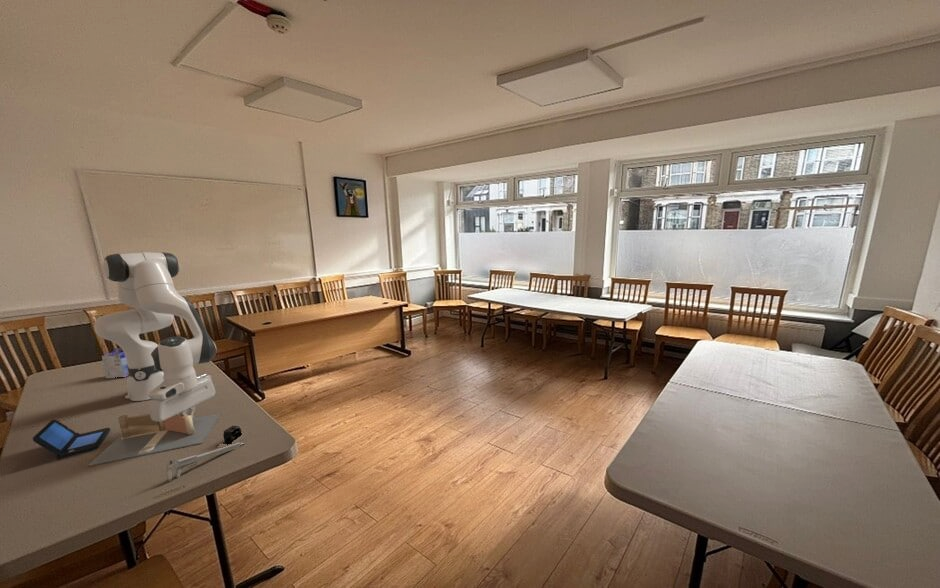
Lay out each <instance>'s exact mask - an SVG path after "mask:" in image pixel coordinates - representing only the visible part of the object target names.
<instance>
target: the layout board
mask: <svg viewBox="0 0 940 588" xmlns="http://www.w3.org/2000/svg"><path fill="white" fill-rule="evenodd" d="M220 414H221V413H217V414H212V415H210V414H209V415H204V416H198V417H195V418H193V419H192V421H193V426H194V433H193V434H190V435H188V434H185V433H180V432H175V431H169V430H164V431H161V430H160V431H155V432H150V433H144V434H139V435H134V436H130V437H127V438H123V436H122V434H121V435H119V436H118V437H117V438H116V439H115V440H114V441H113V442H111V444H110V445H109V446H107V447H106V448H105V449H104V450H103V451H102V452H101V453H100V454H99V455H98V456H96V457H95V458H94V460H92V461H91V462H90V463H89V464H88V465H87V466H89V467H93V466H92V465H94V466H97V465H96V464H99V465H103V464H102V463H104V464H108V463H107V462H109V463H113V462H112V461H114V462H117V461H116V460H119V461H122V459H124V460H127V459H128V458H129V459H133V458H138V457H142V456H147V455H148V456H149V455H154V454H159V453H162V452H163V453H164V452H167V451H172V450H178V449H182V447H183V448H188V447H191V446H196V445H197V444H198V445H202V444H203V442H205V440H206V439H207V436H209V434H210V433H211V431H212V429H213V428H214V426H215V425H216V423H217V422H218V420H219V419H220V417H221V416H220ZM219 416H220V417H219ZM218 418H219V419H218ZM217 419H218V420H217ZM216 421H217V422H216ZM215 422H216V423H215ZM214 424H215V425H214ZM212 427H213V428H212Z"/></svg>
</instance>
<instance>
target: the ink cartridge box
mask: <svg viewBox="0 0 940 588" xmlns="http://www.w3.org/2000/svg"><path fill="white" fill-rule="evenodd" d="M121 351H122V349H121V347H119V348H118V347H117V348H113V350H112V352H110V353H107V354H104V355H101V359H102V364H103V367H104V368H103V370H104V374H105V379H118V378H117V377H125V378H127V377H129V376H128V375H129V374H128V363H127V359H126V356H125V354H124V351H122V352H121ZM126 376H127V377H126ZM115 377H116V378H115Z"/></svg>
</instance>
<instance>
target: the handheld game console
mask: <svg viewBox="0 0 940 588" xmlns="http://www.w3.org/2000/svg"><path fill="white" fill-rule="evenodd" d="M110 432H111V428H110V427H105V428H100V429H96V430H92V431H88V432H84V433H83V432H82V433H80V432H76V431H74V430H73V429H71V428H69V427H68V426H67V425H65V424H63V423H62V422H60V421H59V420H57V419H51V420H50V421H49V422H48V423H47V424H46V425H45V426H44V427H43V428H42V429H41V430H39V431H38V432H37V433H36V434H35V435H34V436H32V441H33V442H34V443H35V444H37V445H38V446H40V447H42V448H43V449H45V450H47V451H48V452H50V453H52V454H54V455H56V459H57V460H58V459H59V460H62V459H65V457H66V458H69V456H70V457H72V456H73V455H74V456H77V454H78V455H81V453H82V454H85V452H86V453H89V451H90V452H93V451H95V449H96V450H97V449H99V447H100V445H102V442H104V441H105V439H106V438H107V436H108V434H109V433H110ZM61 458H62V459H61Z"/></svg>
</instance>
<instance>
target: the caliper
mask: <svg viewBox="0 0 940 588" xmlns="http://www.w3.org/2000/svg"><path fill="white" fill-rule="evenodd" d="M242 444H244V442H241V441H239V442H237V443H235V444H232V445H229V446H226V447H223V448H216V449H214V450H210V451H208V452H204V453H202V454H198V455H197V454H195V455H191V456H188V457H185V458H181V459H178V458H177V457H174V459H173V460H172V459H171V458H170V459H169V463H167V464H166V470H165V474H166V477H167V481H169V482H172V481H173V473H174V470H175V478H176V479H178V478H180V477H181V475H182V471H183V469H184V468H190V467H192V466H196V465H197V464H198V462H201V461H204V460H207V459H210V458H213V457H215V456H219V455H222V454H224V453H227V452H230V451H233V449H234V450H236V449H235V448H237V447H239V446H240V445H241V446H243V445H242ZM244 445H245V444H244ZM239 448H240V447H239ZM237 449H238V448H237Z"/></svg>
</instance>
